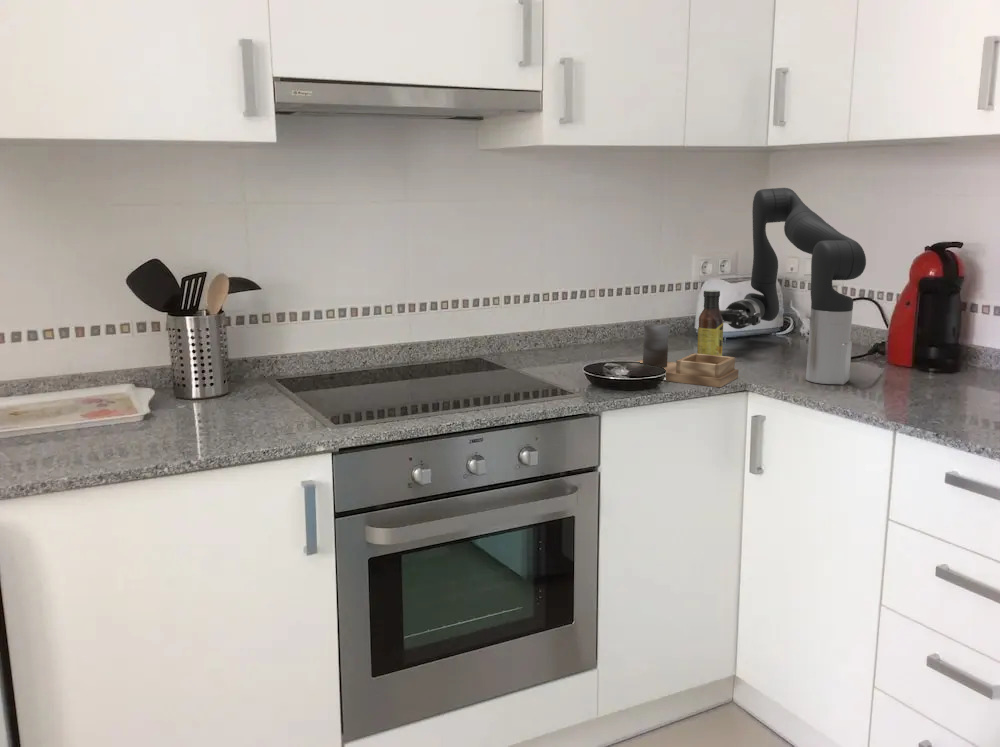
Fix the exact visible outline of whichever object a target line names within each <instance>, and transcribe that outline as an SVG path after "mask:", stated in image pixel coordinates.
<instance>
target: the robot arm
mask: <svg viewBox="0 0 1000 747" xmlns="http://www.w3.org/2000/svg"><path fill="white" fill-rule="evenodd" d="M751 215H752V246H753V252H752V253H753V260H752V261H753V262H752V267H751V268H752V269H751V278H750V285H751V288H752V289H753V290H755V291H757V292H759V293H761V294H759V293H754V292H749V293H746V295H745V296H744V298H743V299H740V300H737V301H734V302H731V303H730V304H728V305H727V307H726V308H725V309H720V312H721V315H722V319H723V324H726V325H728V326H729V327H731V328H733V329H737V330H742V329H744V328H747V327H749V326H757V325H759V324H761V320H762V321H766V322H767V321H768V322H772V321H774V320H775V319H776V318H777V317H778V315H779V312H780V300H779V297H778V290H777V278H778V271H779V259H778V256H777V253H776V251H775V250H774V248H773V247H772V245H771V243H770V240H769V238H768V236H767V230H766V229H767V228H766V227H767V224H771V223H781V222H783V223H784V226H783V229H784V230H783V232H784V235H785V237H786V238H787V240H788V241H789V242H790V243H791V244H792V245H793V246H794V247H795V248H797V249H798V250H800V251H802V252H804V253H806V254H810V255H811V261H810V264H811V266H810V267H811V268H810V300H811V302H810V316H809V317H810V318H809V319H810V320H809V330H808V333H809V334H808V344H807V345H808V346H807V359H806V371H805V374H806V375H805V380H806V381H808V382H811V383H814V384H815V383H816V384H822V385H845V384H846V383H848V382H849V380H850V371H851V370H850V368H851V359H852V346H853V342H852V340H851V333H852V323H853V322H852V321H853V310H854V309H853V308H854V299H853V298H852V297H850V296H849V295H847V294H843V293H840V292H839V291H837V290H836V289H834V287H833V286H834V285H833V281H850V280H855V279H857V278H859V277H861V275H862V274H863V272H864V271H865V269H866V266H867V257H866V254H865V251H864V249H863V247H862V246H861V245H860V243H859V242H858V241H856V240H854V239H852V238H851V237H849V236H846V235H844V234H843V233H841V232H840V231H838V230H837V229H835V227H833V226H831V225H830V224H829V222H826V221H825V220H824V219H823V218H822V217H821V216H820V215H818V214H817V213H816V212H815V211H813V210H812V209H811V208H809V206H807V205H806V204H805V203H804V202H803V200H802V199H801V198H800V197H799V195H798V194H797V193H796V192H795V191H794V190H793V189H791V188H788V187H776V188H774V187H773V188H764V189H759V190H757V191H756V192H755V193H754V196H753V200H752V214H751Z"/></svg>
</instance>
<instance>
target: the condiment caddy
mask: <svg viewBox="0 0 1000 747" xmlns="http://www.w3.org/2000/svg"><path fill="white" fill-rule="evenodd" d="M669 327H670V326H669V325H667V324H663V323H648V324H643V342H642V343H643V347H642V359H639V360H637V361H636V362H640V363H643V364H648V365H654V366H658V367H662V368H664V369H665V370H666V380H667V381H666V382H672V383H679V384H681V383H682V384H687V385H688V384H689V385H698V386H704V387H705V386H706V387H715V388H722V387H723V386H726V385H727V384H729V383H732V382H733V381H735V380H736V379H738V378H739V369H738V368H737V369H736V357H734V356H727V355H725V356H724V355H722V356H716V355H706V354H697V352H696V353H695V352H694V353H692V354H689V355H686V356H685V357H682V358H680V359H677V360H676V362H674V361H668V357H669V356H668V355H669V353H668V352H669Z"/></svg>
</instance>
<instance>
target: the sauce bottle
mask: <svg viewBox="0 0 1000 747" xmlns="http://www.w3.org/2000/svg"><path fill="white" fill-rule="evenodd" d="M720 296H721V290H717V289H708V290H707V289H706V290H705V289H704V290H703V309H702V312H701V313H700V315H699V316H698V328H697V347H696V348H697V351H696V354H706V355H716V356H723V346H724V345H723V344H724V343H723V342H724V323H723V321H724V320H723V319H722V315H721V312H720V310H721V308H720Z"/></svg>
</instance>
